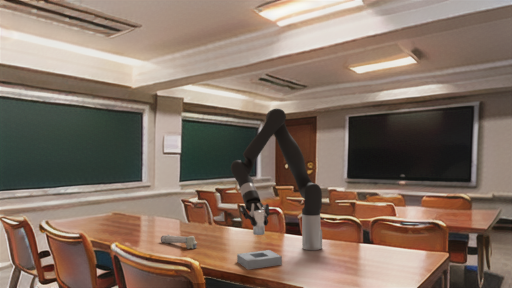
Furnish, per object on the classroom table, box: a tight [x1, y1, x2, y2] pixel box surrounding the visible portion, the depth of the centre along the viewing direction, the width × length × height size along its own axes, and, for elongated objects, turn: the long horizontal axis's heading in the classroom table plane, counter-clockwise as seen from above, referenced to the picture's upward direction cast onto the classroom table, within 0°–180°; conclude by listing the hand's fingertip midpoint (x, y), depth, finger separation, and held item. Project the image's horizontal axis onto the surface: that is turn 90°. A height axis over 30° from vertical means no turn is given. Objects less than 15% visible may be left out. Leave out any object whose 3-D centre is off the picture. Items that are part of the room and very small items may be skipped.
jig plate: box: [236, 249, 283, 270], centre depth 155 cm, size 16×12×4 cm
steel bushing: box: [252, 209, 266, 236], centre depth 156 cm, size 5×5×10 cm
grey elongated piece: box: [160, 234, 198, 250], centre depth 188 cm, size 5×7×25 cm
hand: (260, 224), depth 154 cm, fingers closed on steel bushing, 5 cm apart
